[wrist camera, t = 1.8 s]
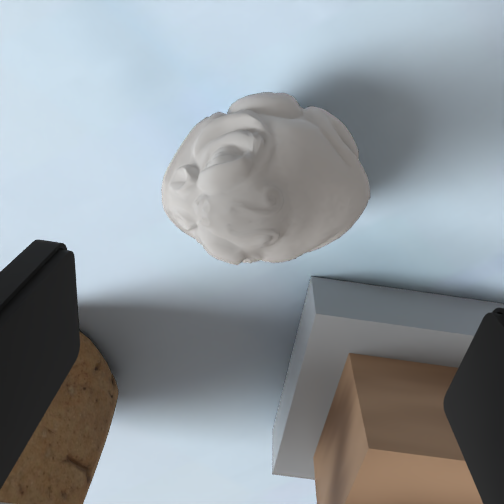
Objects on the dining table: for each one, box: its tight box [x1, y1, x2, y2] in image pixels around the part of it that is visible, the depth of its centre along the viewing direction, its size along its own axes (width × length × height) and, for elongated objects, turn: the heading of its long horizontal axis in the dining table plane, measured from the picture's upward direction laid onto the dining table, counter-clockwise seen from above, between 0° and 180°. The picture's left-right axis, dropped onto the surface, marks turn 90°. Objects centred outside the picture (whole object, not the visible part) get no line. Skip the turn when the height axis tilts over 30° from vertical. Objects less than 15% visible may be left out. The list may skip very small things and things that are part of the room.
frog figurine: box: [161, 92, 370, 265], centre depth 16 cm, size 6×7×7 cm
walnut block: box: [313, 353, 483, 504], centre depth 20 cm, size 8×8×5 cm
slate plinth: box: [272, 276, 504, 480], centre depth 24 cm, size 12×12×3 cm
